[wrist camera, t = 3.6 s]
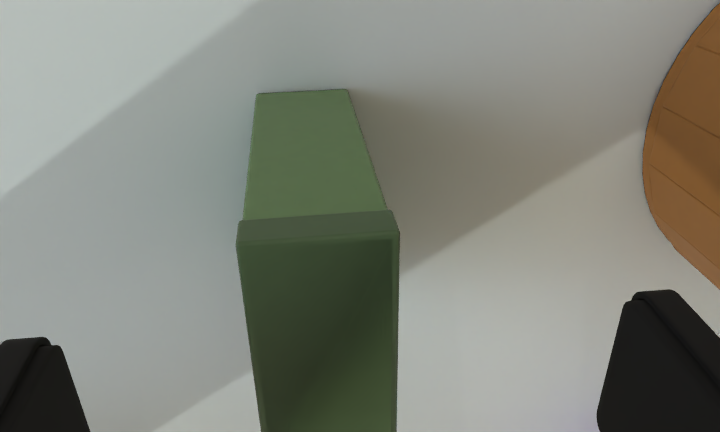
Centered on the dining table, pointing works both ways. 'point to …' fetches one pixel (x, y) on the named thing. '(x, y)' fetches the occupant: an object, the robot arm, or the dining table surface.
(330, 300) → the block
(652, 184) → the jar
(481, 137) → the dining table surface
